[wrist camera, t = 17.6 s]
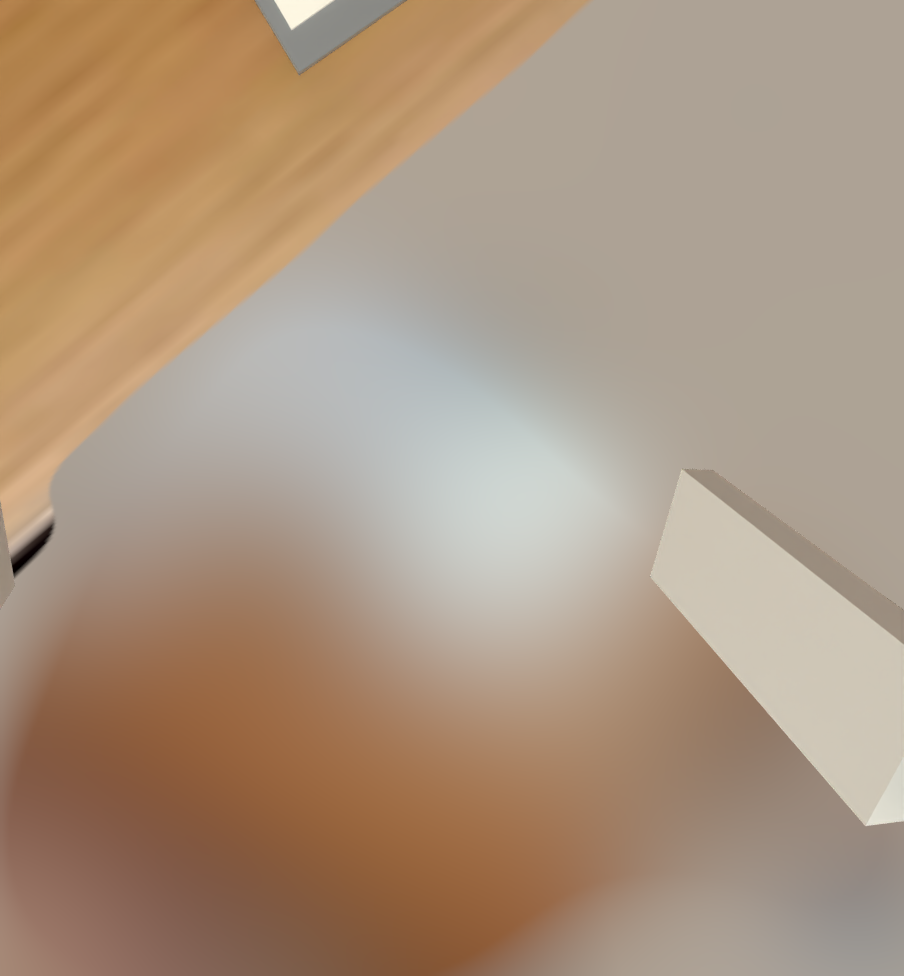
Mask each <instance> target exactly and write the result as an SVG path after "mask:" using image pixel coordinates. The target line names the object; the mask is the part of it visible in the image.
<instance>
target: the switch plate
mask: <svg viewBox="0 0 904 976" xmlns="http://www.w3.org/2000/svg"><path fill="white" fill-rule="evenodd" d="M405 1H407V0H255V2H256V4H257V5H258V7H259V9H260V10H261V12H262V14H263V15H264V17H265V19H266V20H267V22H268V24H269V25H270V27H271V29H272V30H273V32H274V34H275V35H276V37H277V39H278V41H279V42H280V44H281V46H282V47H283V49H284V51H285V52H286V54H287V56H288V57H289V59H290V61H291V62H292V64H293V66H294V67H295V69H296V71H297V72H298V74H299V75H300V74H302V73H303V72H305V71H306V70H308V69H309V68H310V67H312V66H313V65H315V64H316V63H318V62H319V61H320V60H322V59H323V58H325V57H326V56H328V55H329V54H330V53H332V52H333V51H335V50H336V49H338V48H339V47H341V46H342V45H343V44H345V43H346V42H348V41H349V40H351V39H352V38H353V37H355V36H356V35H358V34H359V33H361V32H362V31H363V30H365V29H366V28H368V27H369V26H371V25H372V24H374V23H375V22H376V21H378V20H379V19H381V18H382V17H384V16H385V15H386V14H388V13H389V12H391V11H392V10H394V9H395V8H396V7H398V6H399V5H401V4H402V3H404V2H405Z"/></svg>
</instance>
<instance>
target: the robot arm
mask: <svg viewBox="0 0 904 976" xmlns="http://www.w3.org/2000/svg"><path fill="white" fill-rule="evenodd" d="M650 577H651V578H652V579H653V580H654V582H655V583H656V584H657V585H658V586H659V587H660V588H661V590H662V591H663V592H664V593H665V594H666V595H667V597H668V598H669V599H670V600H671V601H672V602H673V604H674V605H675V606H676V607H677V608H678V609H679V611H680V612H681V613H682V614H683V615H684V616H685V617H686V618H687V620H688V621H689V622H690V623H691V624H692V626H693V627H694V628H695V629H696V630H697V631H698V632H699V633H700V635H701V636H702V637H703V638H704V639H705V641H706V642H707V643H708V644H709V645H710V646H711V648H712V649H713V650H714V651H715V652H716V653H717V655H718V656H719V657H720V658H721V659H722V660H723V662H724V663H725V664H726V665H727V666H728V667H729V668H730V670H731V671H732V672H733V673H734V674H735V675H736V677H737V678H738V679H739V680H740V681H741V682H742V684H743V685H744V686H745V687H746V688H747V689H748V690H749V691H750V693H751V694H752V695H753V696H754V697H755V698H756V700H757V701H758V702H759V703H760V704H761V705H762V707H763V708H764V709H765V710H766V711H767V712H768V714H769V715H770V716H771V717H772V718H773V719H774V721H775V722H776V723H777V724H778V725H779V726H780V728H781V729H782V730H783V731H784V732H785V733H786V734H787V736H788V737H789V738H790V739H791V740H792V741H793V743H794V744H795V745H796V746H797V747H798V748H799V750H800V751H801V752H802V753H803V754H804V755H805V756H806V757H807V759H808V760H809V761H810V762H811V763H812V764H813V766H814V767H815V768H816V769H817V770H818V771H819V773H820V774H821V775H822V776H823V777H824V778H825V780H826V781H827V782H828V783H829V784H830V785H831V787H832V788H833V789H834V790H835V791H836V792H837V793H838V795H839V796H840V797H841V798H842V799H843V800H844V802H845V803H846V804H847V805H848V806H849V807H850V809H851V810H852V811H853V812H854V813H855V814H856V815H857V817H858V818H859V819H860V820H861V821H862V822H863V824H864V825H865V826H868V825H876V824H884V823H892V822H898V821H904V610H903V609H901V608H900V607H899V606H897V605H896V604H894V603H893V602H892V601H891V600H889V599H888V598H886V597H885V596H883V595H882V594H881V593H879V592H878V591H877V590H875V589H874V588H872V587H871V586H870V585H868V584H867V583H866V582H864V581H863V580H862V579H860V578H859V577H858V576H856V575H855V574H854V573H852V572H851V571H849V570H848V569H847V568H845V567H844V566H843V565H841V564H840V563H839V562H837V561H836V560H834V559H833V558H832V557H830V556H829V555H828V554H826V553H825V552H823V551H822V550H821V549H820V548H818V547H817V546H815V545H814V544H813V543H811V542H810V541H809V540H807V539H806V538H804V537H803V536H802V535H800V534H799V533H798V532H796V531H795V530H794V529H792V528H791V527H789V526H788V525H787V524H786V523H784V522H783V521H781V520H780V519H779V518H777V517H776V516H775V515H773V514H772V513H771V512H769V511H768V510H766V509H765V508H764V507H762V506H761V505H760V504H758V503H757V502H756V501H754V500H753V499H752V498H750V497H749V496H747V495H746V494H745V493H743V492H742V491H741V490H739V489H738V488H736V487H735V486H734V485H732V484H731V483H730V482H728V481H727V480H726V479H724V478H723V477H722V476H720V475H719V474H718V473H716V472H715V471H713V470H697V469H682V470H681V474H680V477H679V481H678V484H677V488H676V491H675V494H674V498H673V501H672V504H671V508H670V511H669V515H668V518H667V521H666V525H665V528H664V532H663V535H662V538H661V542H660V545H659V549H658V552H657V556H656V559H655V562H654V566H653V569H652V573H651V576H650ZM14 587H15V583H14V577H13V571H12V566H11V560H10V554H9V548H8V543H7V537H6V531H5V526H4V520H3V514H2V509H1V503H0V609H1V607H2V606H3V604H4V602H5V601H6V599H7V598H8V596H9V595H10V593H11V592H12V590H13V588H14Z"/></svg>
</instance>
